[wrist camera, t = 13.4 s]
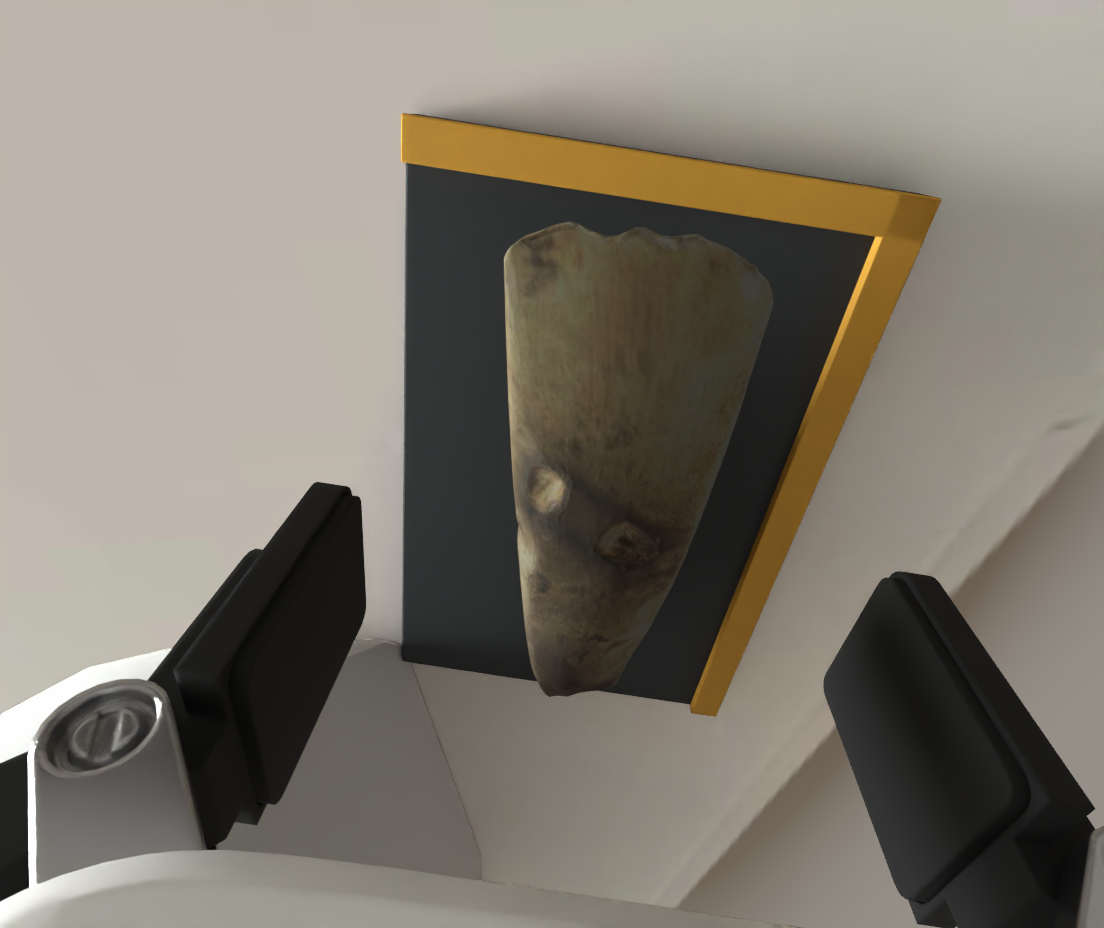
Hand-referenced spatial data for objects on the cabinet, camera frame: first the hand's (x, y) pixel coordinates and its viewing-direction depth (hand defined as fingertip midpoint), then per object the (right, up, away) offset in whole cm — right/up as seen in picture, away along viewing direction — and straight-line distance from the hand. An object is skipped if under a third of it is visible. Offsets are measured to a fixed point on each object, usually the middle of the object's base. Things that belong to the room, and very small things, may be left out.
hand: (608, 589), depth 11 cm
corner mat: (0, +2, +5) cm, 5 cm away
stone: (0, +2, +4) cm, 5 cm away
